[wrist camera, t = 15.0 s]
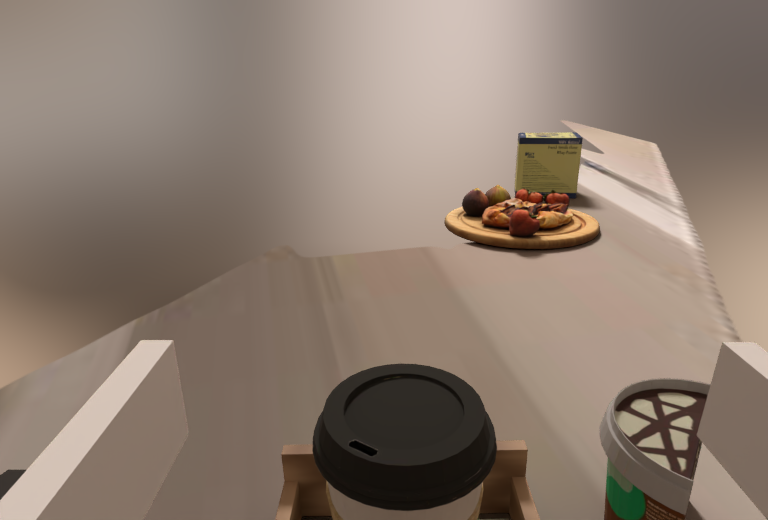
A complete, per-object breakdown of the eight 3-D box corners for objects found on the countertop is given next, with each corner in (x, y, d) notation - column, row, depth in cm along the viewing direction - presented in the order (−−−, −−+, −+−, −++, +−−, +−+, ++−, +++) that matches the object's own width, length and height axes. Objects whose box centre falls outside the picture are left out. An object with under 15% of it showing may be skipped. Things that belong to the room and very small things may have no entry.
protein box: (577, 198, 131) (583, 137, 125) (514, 197, 134) (518, 137, 128) (571, 189, 140) (577, 132, 135) (513, 188, 143) (517, 132, 138)
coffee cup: (509, 583, 33) (526, 389, 28) (438, 738, 26) (443, 512, 20) (384, 516, 38) (379, 342, 33) (294, 629, 31) (268, 426, 26)
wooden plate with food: (589, 262, 89) (595, 216, 86) (421, 239, 103) (422, 199, 100) (605, 219, 116) (610, 183, 113) (470, 205, 130) (472, 173, 127)
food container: (610, 456, 44) (626, 357, 41) (691, 487, 41) (716, 381, 37) (564, 561, 35) (579, 444, 32) (663, 612, 32) (692, 487, 28)
